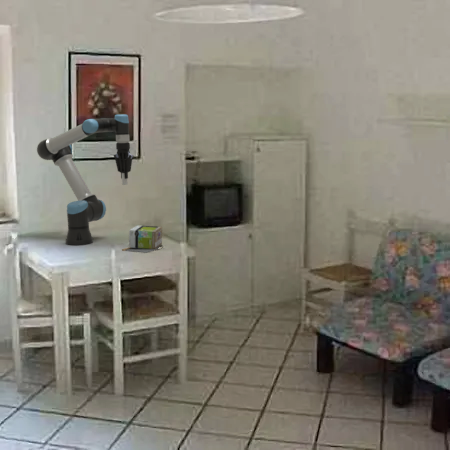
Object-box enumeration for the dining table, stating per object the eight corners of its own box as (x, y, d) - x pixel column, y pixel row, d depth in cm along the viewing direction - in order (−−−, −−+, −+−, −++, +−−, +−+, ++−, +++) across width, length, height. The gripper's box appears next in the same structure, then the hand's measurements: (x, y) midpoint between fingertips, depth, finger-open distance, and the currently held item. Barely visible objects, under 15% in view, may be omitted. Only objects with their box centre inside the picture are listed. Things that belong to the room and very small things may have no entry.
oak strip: (121, 250, 406) (121, 249, 406) (143, 244, 421) (143, 243, 421) (124, 250, 405) (124, 249, 405) (145, 245, 420) (145, 243, 420)
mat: (125, 250, 406) (125, 250, 406) (145, 245, 419) (145, 245, 419) (146, 252, 398) (146, 252, 398) (165, 247, 411) (165, 247, 411)
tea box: (128, 248, 408) (155, 249, 406) (128, 229, 406) (155, 231, 404) (136, 242, 423) (162, 244, 420) (136, 224, 421) (162, 226, 418)
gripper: (109, 142, 425) (111, 184, 429) (127, 142, 418) (129, 185, 422) (118, 141, 432) (120, 183, 435) (136, 142, 424) (138, 184, 428)
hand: (124, 184), depth 429 cm, fingers closed
